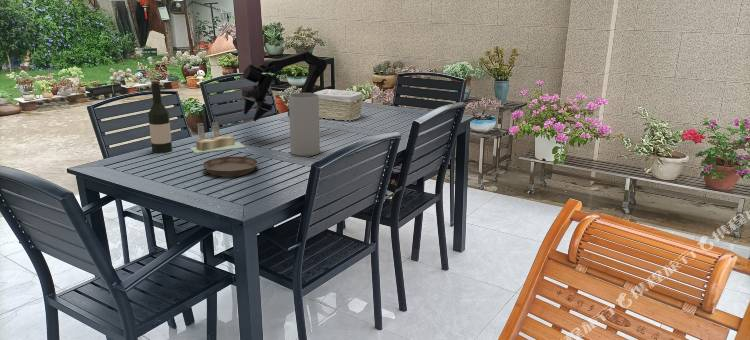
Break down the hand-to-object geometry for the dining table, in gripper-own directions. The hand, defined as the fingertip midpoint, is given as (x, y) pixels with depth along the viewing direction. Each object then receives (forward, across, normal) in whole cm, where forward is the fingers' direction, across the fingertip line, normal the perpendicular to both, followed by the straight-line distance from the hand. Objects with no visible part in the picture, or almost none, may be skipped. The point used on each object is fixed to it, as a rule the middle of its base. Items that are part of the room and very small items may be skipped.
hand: (249, 117), depth 255 cm
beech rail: (+15, +5, -12) cm, 20 cm away
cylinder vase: (+2, +33, +11) cm, 35 cm away
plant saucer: (+16, +38, -23) cm, 47 cm away
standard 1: (+20, -10, -11) cm, 25 cm away
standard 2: (+17, -8, -6) cm, 19 cm away
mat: (+17, +4, -11) cm, 21 cm away
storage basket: (-13, -17, +65) cm, 68 cm away
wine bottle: (+27, -6, -30) cm, 41 cm away
